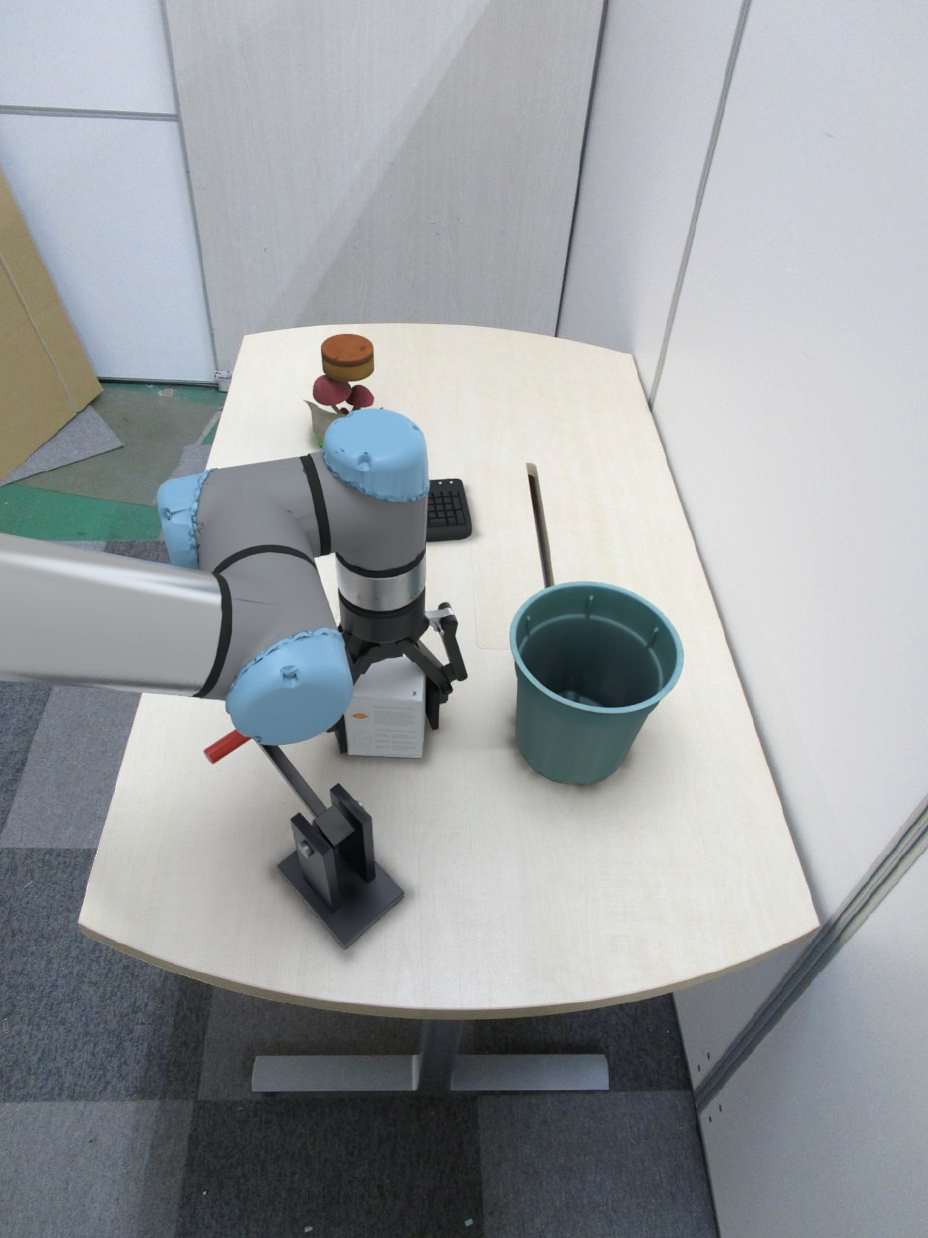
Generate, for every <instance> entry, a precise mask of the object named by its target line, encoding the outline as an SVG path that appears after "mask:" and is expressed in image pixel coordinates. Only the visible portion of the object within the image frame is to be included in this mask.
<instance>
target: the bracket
mask: <svg viewBox="0 0 928 1238" xmlns="http://www.w3.org/2000/svg"><path fill="white" fill-rule="evenodd" d="M328 791H329V796H330V804H331V805H330V806H332V805H333V804H335V805H336V806H337V808H338V809H339V810H340V811H341V813H342V814H343V815H344V816H345V818H346V819H347V820H348V822H349V823H350V824H351V825H352V827H353V828H354V829H355V831H354V833H353V834H352V836H351V837H350V838H349V839H348V840H346V841H345V842H344V843H343V844H341V845H340V846H339V847H338V848H336V849H335V850H334V851H333V849H332V847H331V846H330V845H329V844H328V843H327V842H326V841H325V839H324V838H323V837H322V836H321V835H320V834H319V833H318V832H317V831H316V830H315V828H314V827H313V826H312V825H311V824H312V823H310V822H309V820H308V819H307V818H306V817H305V816H304V815H303V813H301V812H300V811H299V812H297V813H296V814H294V815H293V816H292V817H291V818H289V821H290V825H291V826H290V827H291V830H292V834H293V839H294V843H295V847H296V850H294V851H293V852H292V853H290V854H289V855H288V856H287V857H285V858H284V859H283V860H282V861H280V862H278V863H277V865H276V868H277V871H278V872H279V874H280V875H281V876H282V877H283V879H284V880H286V882H287V883H288V885H290V886H291V888H292V889H293V890H294V891H295V893H296V894H297V895H298V896H299V897H300V898H301V900H302V901H303V902H304V904H305V905H306V906H307V907H308V908H309V910H311V912H312V913H313V914H314V915H315V916H316V918H317V919H318V920H319V921H320V923H322V925H323V926H324V927H325V929H327V931H328V932H329V934H331V936H332V937H333V938H334V939H335V940H336V941H337V943H338V944H339V945H340V946H341V947H342V949H343V950H347V948H348V947H350V946H351V945H352V944H353V943H354V942H355V941H356V940H357V939H358V938H360V937H361V936H362V935H363V934H364V933H365V932H367V931H368V930H369V929H370V928H371V927H372V926H373V925H374V924H375V923H377V922H378V921H379V920H380V919H381V918H382V917H383V916H385V915H386V914H387V913H388V912H389V911H390V910H391V909H393V908H394V907H395V906H396V905H397V904H398V903H399V902H400V901H401V900H403V899H404V898H405V891H404V890H403V889H402V887H400V886H399V885H398V884H397V882H396V881H394V879H393V878H392V877H391V876H390V875H389V874H388V873H387V872H386V871H385V869H383V868H382V866H381V865H380V864H379V863H378V862H377V861H376V860H375V844H374V843H375V842H374V830H373V829H374V828H373V818H372V815H370V813H368V812H367V810H366V808H365V807H364V805H363V804H362V803H361V802H360V800H358V799H355V798H354V797H353V796H352V795H351V794H350V792H349V791H348V790H347V789H345V788H344V786H342V785H341V783H339V782H337V783H336V784H334V785H333V786H332V787H331V788H329V790H328Z"/></svg>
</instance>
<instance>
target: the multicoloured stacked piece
mask: <svg viewBox="0 0 928 1238" xmlns="http://www.w3.org/2000/svg"><path fill="white" fill-rule="evenodd" d="M320 356H321V357H320V358H321V367H322V372H323V374H322V375H320V376H318V377H317V378H316V379H315V381H314V383H313V385H312V397H313V400H314V401H315V402H316V403H317V404H319V405H322V406H326V407H330V408H332V410H333V411H334V412H332V411H328V410H326V409H323V408H321V407H319V405H317V404H316V403H314V402H312V401H309V400H306V399H302V402H303V401H304V402H305V403H306V404H307V405H308V407H309V411H310V413H311V422H312V432H313V433H314V435H316V437H317V441H318V444H319V445H320V446H321V447H322V448H323V444H324V436H325V433H326V430H327V429H328V427H329V426H330V424H331V423H332V422H333V421H334V420H336V419H338V418H345V417H346V416H347V415H348V414H349V413H350V412H352V411H356V410H361V409H367V408H369V407H372V405H374V403H375V396H374V395H373V393H372V391H370V389H369V388H368V387H366V386H365V385H363V384H355V385H351V384H350V383H355V382H360V381H363V380H365V379H368V378H369V377H370V376H372V375H373V374H374V371H375V350H374V345H373V342H372V341H371V340H370V339H368V338H367V337H365V336H363V335H359V334H356V333H340V334H334V335H332V336H330V337H327V338H326V339H325V340H323V342H321V345H320ZM344 402H345V403H346V404H347V405H349V406H352V409H351V411H349V409H348V408H347V407H344V406H342V407H340V409H339V407H338V406H337V405H339V404H342V403H344ZM378 409H384V406H381V407H379V408H378Z"/></svg>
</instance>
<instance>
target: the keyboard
mask: <svg viewBox="0 0 928 1238" xmlns="http://www.w3.org/2000/svg"><path fill="white" fill-rule="evenodd" d="M471 517H472V516H471V513H470V508H469V504H468V499H467V496H466V490H465V486H464V482H463V480H462V479H460V478H458V477H457V478H440V479H438V478H437V479H430V488H429V491H428V506H427V526H426V543H432V542H443V541H444V542H445V541H458V540H463V539H467V538H469V537H470V536H472V532H473V523H472V522H473V521H472V518H471Z"/></svg>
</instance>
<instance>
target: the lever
mask: <svg viewBox="0 0 928 1238" xmlns="http://www.w3.org/2000/svg"><path fill="white" fill-rule="evenodd" d="M251 740H253V739H252V738H250V737H244V736H243V735H242V734H240V733H239V732H238V731H237V730H236V728H235V729H234V730H232V731H231V732H229V733H227V734H226V735H224V736H223V737H221V738H220V739H218V740H216V741H215V742H214V743H212V744H211V745H209V746H208V747H206V748H205V749H203V750H202V752H203V755H204V757H205V758H206V759H207V761H208V762H209V764H211V765H214V764H216V763H218V762H219V761H221V760H223V759H224V758H225V757H227V756H229V755H230V754H231V753H233V752H234V751H236V750H237V749H239V748H240V747H242V746H243V745H244V744H246V743H248V742H249V741H251ZM255 743H256V745H257V746H258V747H259V748H260V749H261V751H262V752H263V754H264V755H265V756H266V758H267V759H268V760H269V761H270V763H271V764H272V765H273V767H275V769H276V771H277V772H278V773H279V774H280V776H281V777H282V779H284V781H285V782H286V784H287V785H288V786H289V787H290V788H291V790H292V791H293V792H294V794H295V796H297V798H298V799H299V800H300V801H301V803H302V804H303V805H304V807H305V808H306V809H307V810H308V812H309V814H310V815H311V816H312V817H313V820H312V822H311V823H310V824H311V825H312V826H313V827H314V828H315V830H316V831H317V832H318V833H319V834H320V835H321V836H322V837H323V838H324V839H325V841H326V842H327V843H328V844H329V845H330V846H331V847H332V849H333V851H334V850H335V849H336V848H338V847H339V846H340V845H341V844H343V843H344V842H345V841H346V840H348V839H349V838H350V837H351V836H352V834H353V833H354V831H355V829H354V828H353V827H352V825H351V824H350V823H349V822H348V820H347V819H346V818H345V816H344V815H343V814H342V813H341V811H340V810H339V809H338V808H337V806H336V805H335V804H333V805H330V806H329V807H327V806H325V804H324V803H323V801H322V800H321V798H319V796H318V795H317V794H316V792H315V790H313V789H312V787H311V786H310V784H309V783H308V782H307V781H306V779H305V778H304V777H303V776H302V774H301V773H300V772H299V770H298V769H297V767H296V766H295V765H294V764H293V763H292V761H290V759H289V758H288V756H287V755H286V754H285V752H284V751H283V750H282V749H281V747H280V745H264V744H260V743H257V742H255Z"/></svg>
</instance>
